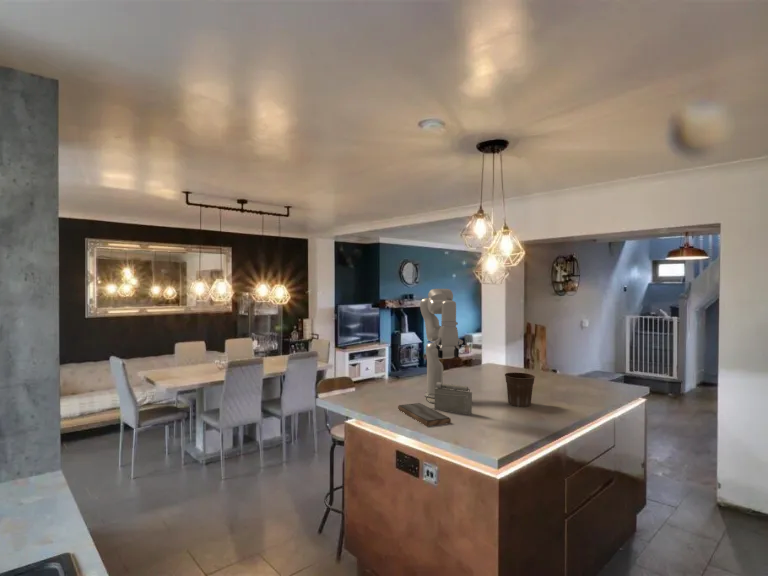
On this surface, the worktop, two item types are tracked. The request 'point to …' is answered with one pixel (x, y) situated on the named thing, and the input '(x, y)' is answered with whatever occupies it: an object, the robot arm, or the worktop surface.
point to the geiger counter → (452, 398)
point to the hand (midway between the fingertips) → (448, 357)
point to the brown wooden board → (424, 414)
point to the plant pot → (519, 388)
